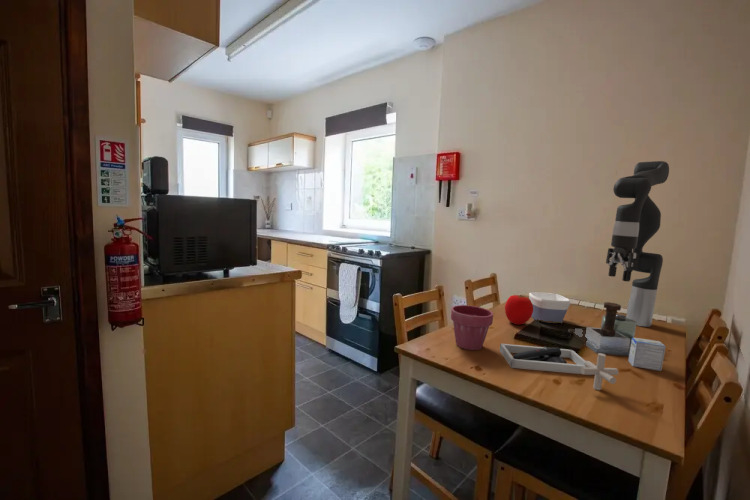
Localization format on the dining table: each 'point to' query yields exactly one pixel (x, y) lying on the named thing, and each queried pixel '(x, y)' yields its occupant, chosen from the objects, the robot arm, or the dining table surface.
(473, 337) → the plant pot
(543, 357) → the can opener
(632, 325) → the motor mount
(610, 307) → the bolt
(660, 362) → the medicine box
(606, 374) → the pipe connector
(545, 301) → the bowl
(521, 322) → the tomato
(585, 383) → the dining table surface
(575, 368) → the gray parallelogram frame
